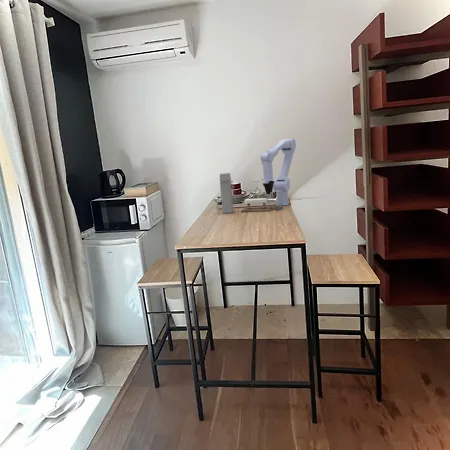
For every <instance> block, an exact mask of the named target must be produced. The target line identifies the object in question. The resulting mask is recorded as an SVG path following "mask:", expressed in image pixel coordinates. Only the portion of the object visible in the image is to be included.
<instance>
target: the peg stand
mask: <svg viewBox="0 0 450 450" xmlns="http://www.w3.org/2000/svg"><path fill="white" fill-rule="evenodd" d="M266 203H267V202H266ZM266 203H262V206H254V207H252V206H251V203H246V204H247V205H246V206H247V207H246V206H245V207H243V209H241V210H240V212H241V213H265V212H270V213H271V211H272V210H273V206H266V205H267V204H266Z"/></svg>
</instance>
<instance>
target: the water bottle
mask: <svg viewBox="0 0 450 450" xmlns="http://www.w3.org/2000/svg"><path fill="white" fill-rule="evenodd" d="M233 183H234V182H233V180H232V179H231V172H222V173H219V185H220V186H219V187H220V195H221V196H220V197H221V208H222V209H221V210H222V213H223V214H233V212H234V205H236V203H237V201H236V199H234V198H236V197H235V194H234V193H235V190H234V186H233Z"/></svg>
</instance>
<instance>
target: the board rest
mask: <svg viewBox="0 0 450 450" xmlns="http://www.w3.org/2000/svg"><path fill="white" fill-rule="evenodd" d="M276 204H277V203H276ZM276 204H275V210H276V211H281V210H283V205H282V204H277V205H276Z"/></svg>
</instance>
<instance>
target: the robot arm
mask: <svg viewBox="0 0 450 450" xmlns="http://www.w3.org/2000/svg"><path fill="white" fill-rule="evenodd" d="M296 145H297V143H296V140H295V138H293V137H292V138H285V139H282V138H281V139H280V140H279V141H278V143H277V144H276V145H275V146H271V147H269V149H268V150H266V151H265V152H262V153H261V155H260V162H261V165H262V169H263V170H262V171H263V178H262V179H261V180H262V181H264V182H263V183H262V186H263V188H264V190H265V193H266V195H271V193H273V190H274V192H276V193H275V194H276V204H275V206H276V205H277V204H282V206H289V204H290V201H288V200H289V199H288V197H289V196H288V191H289V190H290V187H291V181H290V179H289V177H288V176H289V172H290V168H291V166H292V160H293V157H294V154H295V150H296V147H297V146H296ZM279 151H281V152H282V154H284V157H283V160H282V164H281V168H280V173H279V176H278V177H276V178H275V180H274V175H273V173H274V172H273V161H274V159H275V157H276V156H278V154H279Z"/></svg>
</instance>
